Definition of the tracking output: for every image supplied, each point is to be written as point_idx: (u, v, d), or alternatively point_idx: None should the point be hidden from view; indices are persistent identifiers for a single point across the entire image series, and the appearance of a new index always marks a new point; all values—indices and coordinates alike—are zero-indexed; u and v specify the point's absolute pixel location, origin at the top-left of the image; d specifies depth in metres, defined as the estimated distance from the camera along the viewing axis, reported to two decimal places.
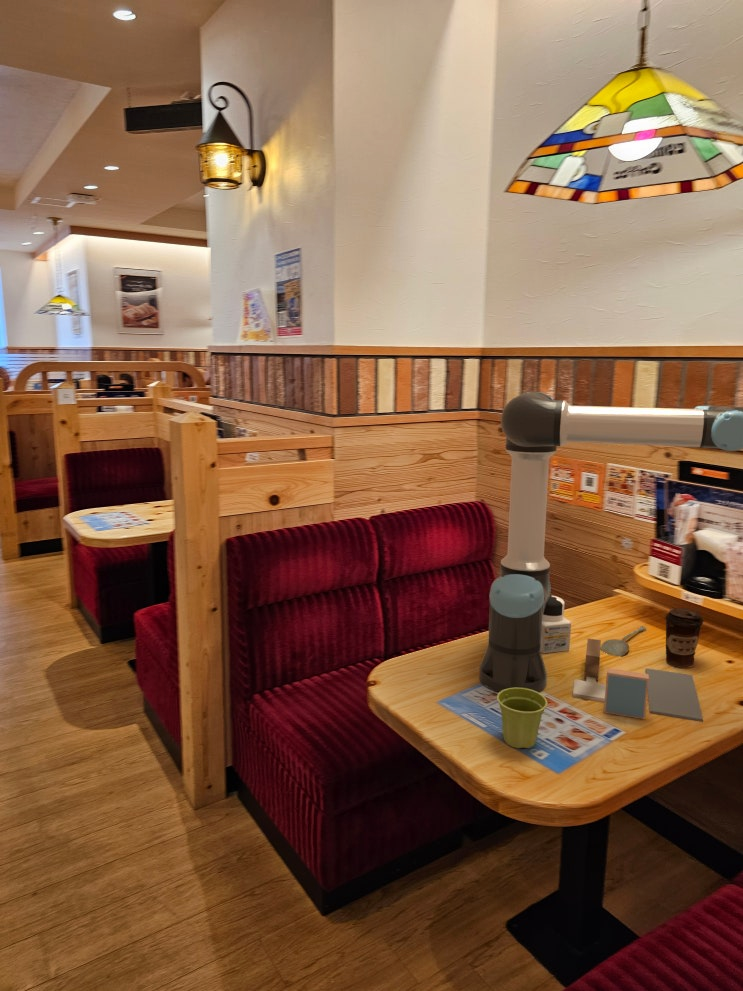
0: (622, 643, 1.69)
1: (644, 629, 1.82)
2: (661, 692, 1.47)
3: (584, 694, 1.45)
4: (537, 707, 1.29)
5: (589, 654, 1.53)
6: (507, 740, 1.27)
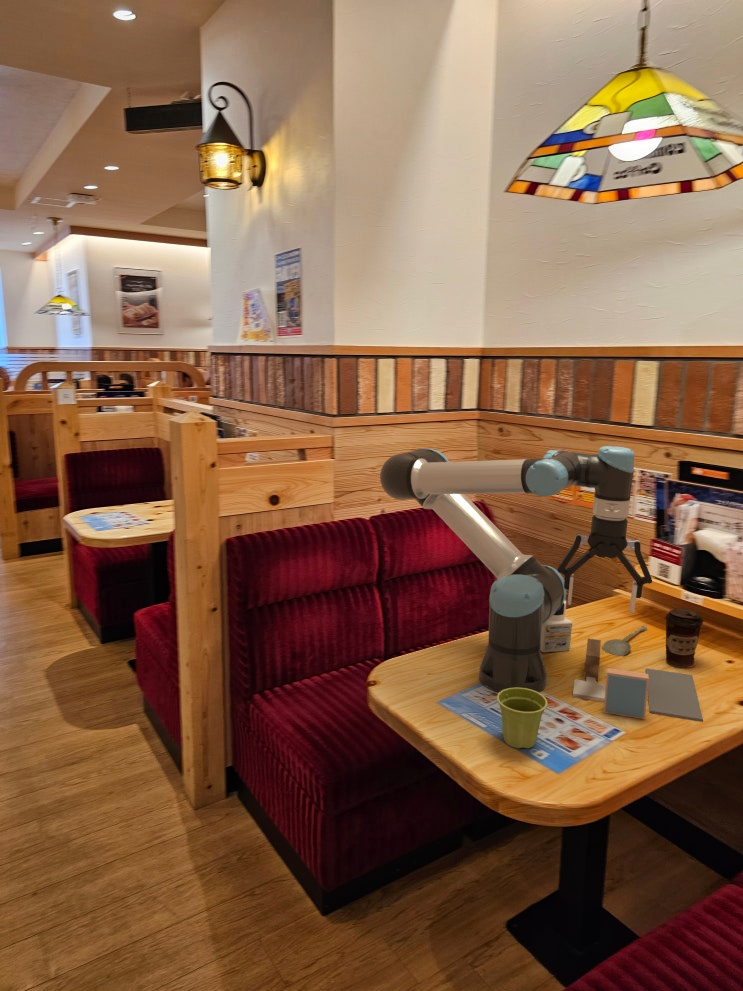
0: (624, 643, 1.69)
1: (645, 629, 1.82)
2: (661, 692, 1.47)
3: (584, 694, 1.45)
4: (538, 707, 1.29)
5: (589, 654, 1.53)
6: (507, 740, 1.27)
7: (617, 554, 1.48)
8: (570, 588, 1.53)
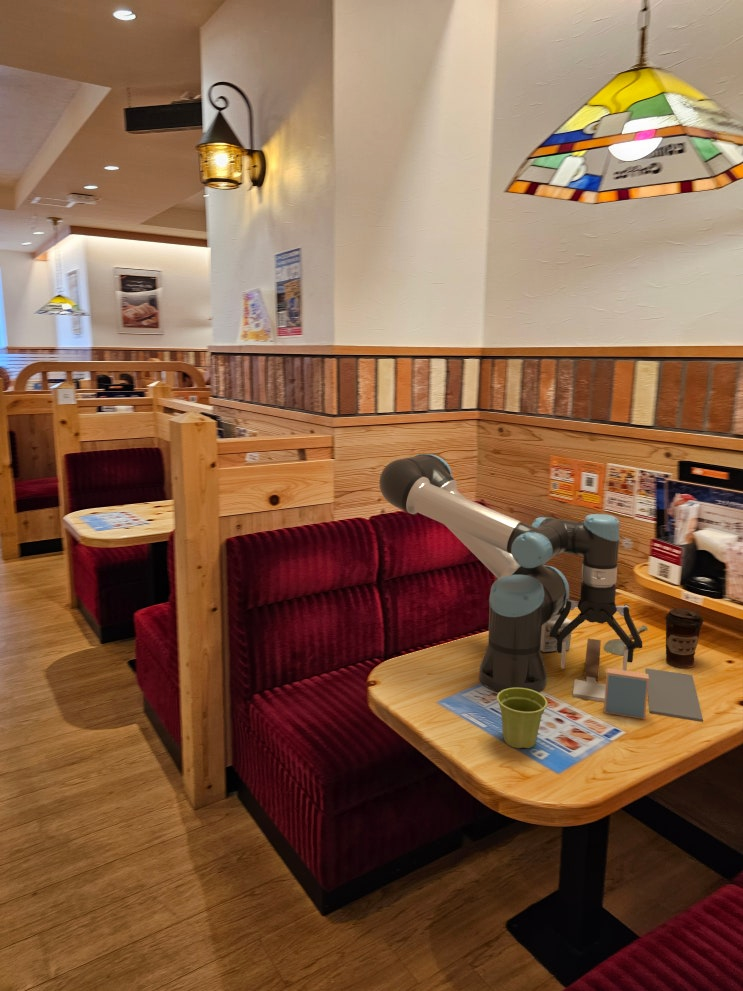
0: None
1: (645, 628, 1.82)
2: (661, 692, 1.47)
3: (584, 694, 1.45)
4: (537, 707, 1.29)
5: (589, 654, 1.53)
6: (507, 740, 1.27)
7: (607, 620, 1.51)
8: (563, 652, 1.56)
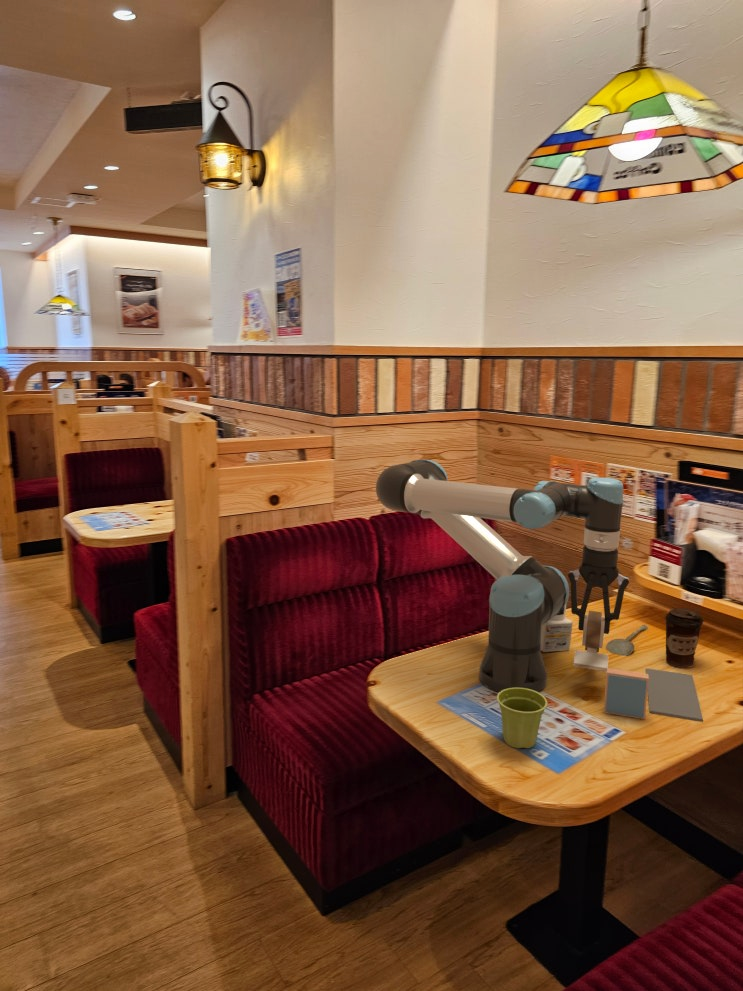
0: (627, 642, 1.69)
1: (646, 628, 1.83)
2: (661, 692, 1.47)
3: (585, 664, 1.44)
4: (537, 707, 1.29)
5: (590, 624, 1.52)
6: (507, 740, 1.27)
7: (603, 585, 1.50)
8: (584, 629, 1.53)
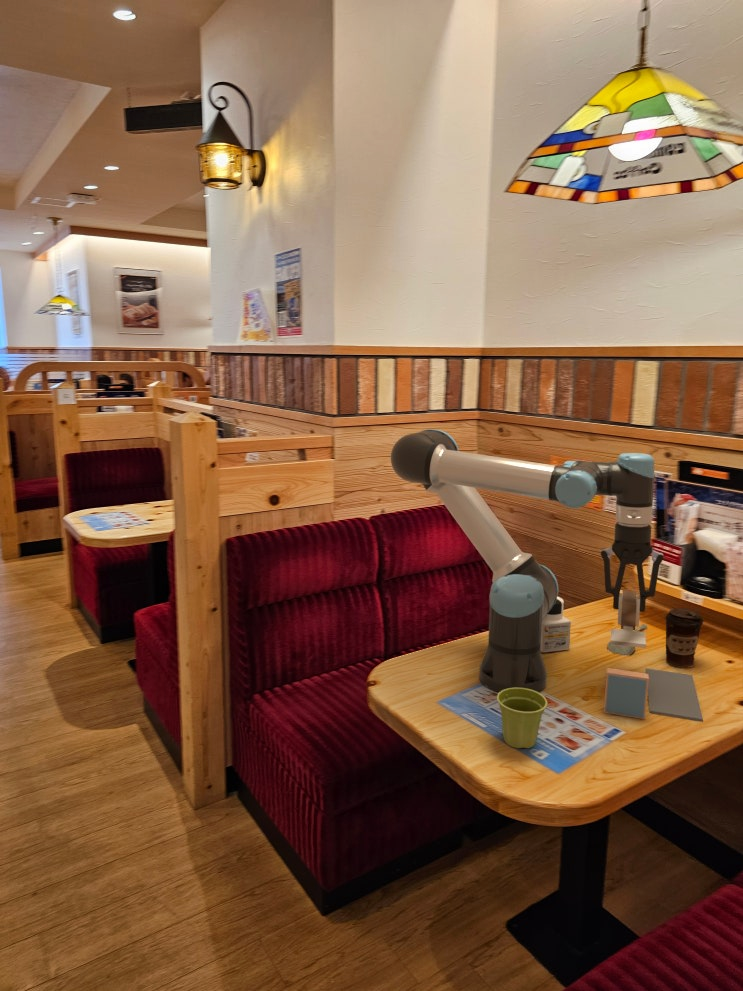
0: None
1: (645, 627, 1.83)
2: (661, 692, 1.47)
3: (622, 641, 1.42)
4: (537, 707, 1.29)
5: (625, 602, 1.50)
6: (507, 740, 1.27)
7: (637, 561, 1.48)
8: (619, 608, 1.51)
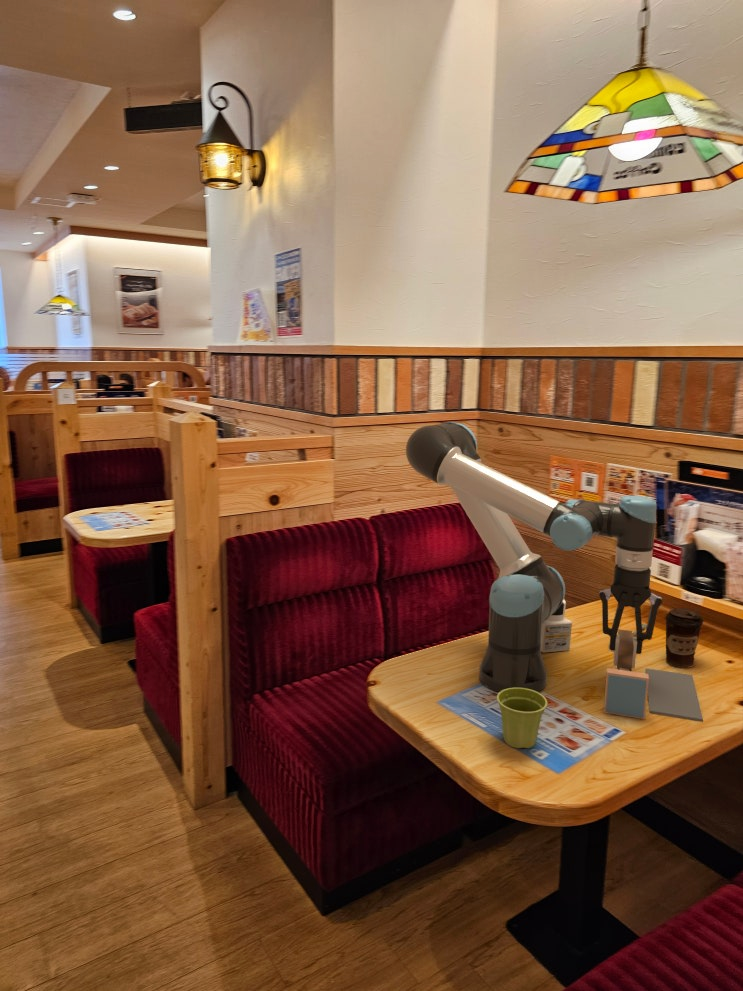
0: None
1: (646, 627, 1.83)
2: (661, 692, 1.47)
3: None
4: (537, 707, 1.29)
5: (622, 644, 1.49)
6: (507, 740, 1.27)
7: (636, 604, 1.47)
8: (616, 649, 1.51)
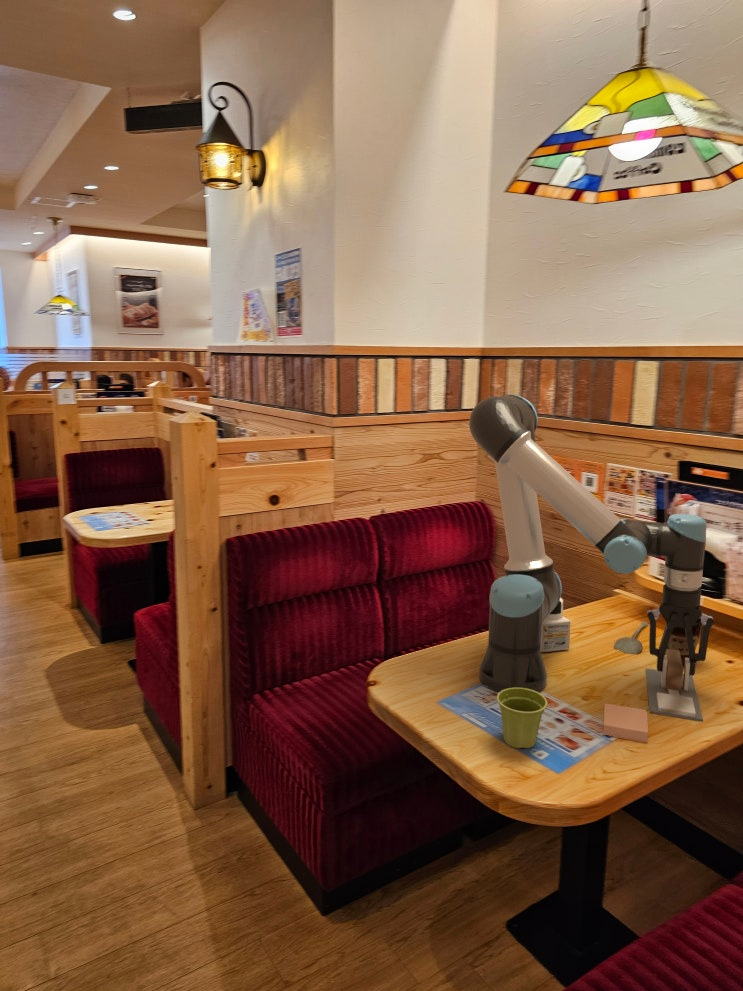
0: (635, 641, 1.70)
1: (646, 625, 1.85)
2: (661, 692, 1.47)
3: (670, 709, 1.38)
4: (537, 707, 1.29)
5: (671, 665, 1.46)
6: (507, 740, 1.27)
7: (687, 625, 1.44)
8: (664, 670, 1.48)
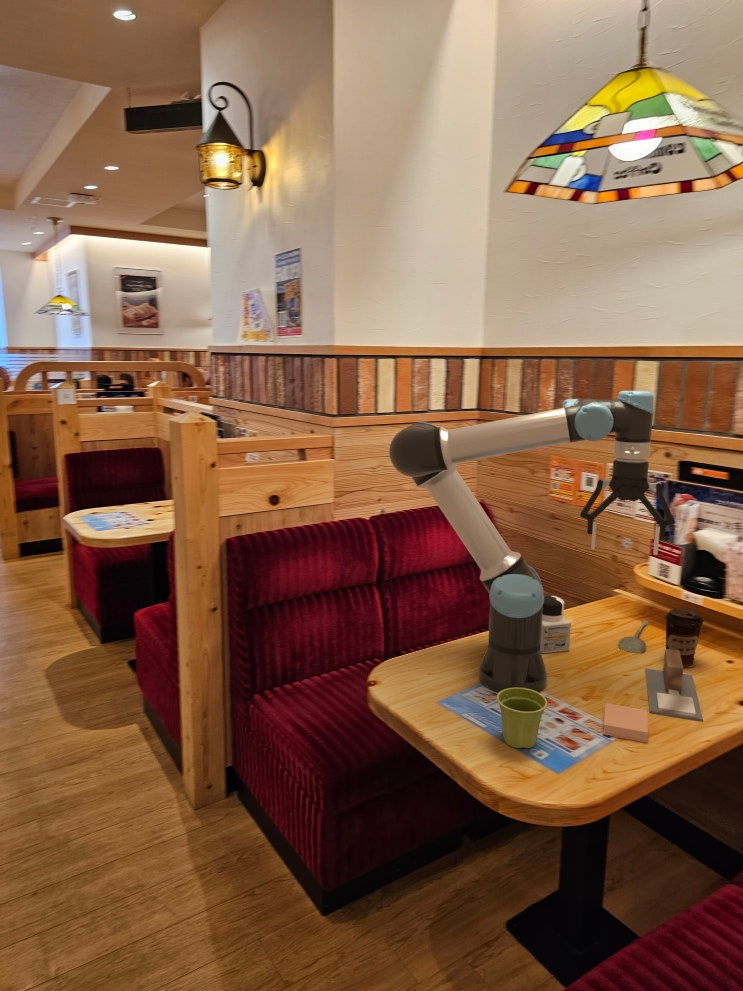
0: (639, 640, 1.71)
1: (646, 624, 1.86)
2: (661, 692, 1.47)
3: (670, 709, 1.38)
4: (537, 707, 1.29)
5: (671, 665, 1.46)
6: (507, 740, 1.27)
7: (639, 496, 1.50)
8: (593, 532, 1.55)
